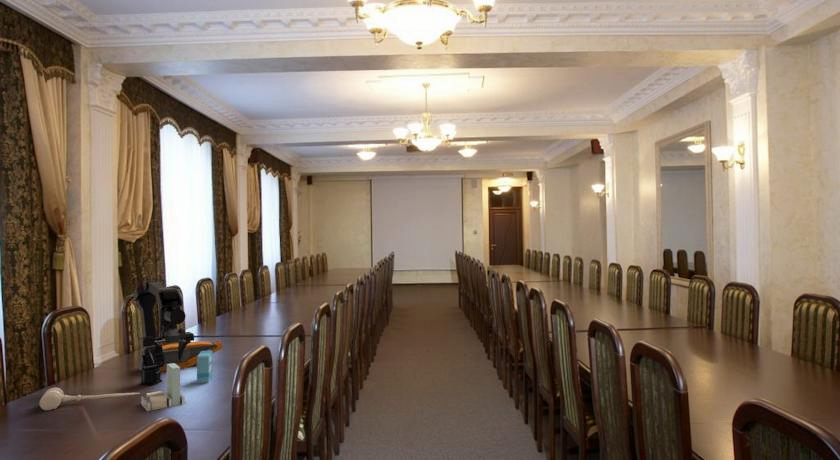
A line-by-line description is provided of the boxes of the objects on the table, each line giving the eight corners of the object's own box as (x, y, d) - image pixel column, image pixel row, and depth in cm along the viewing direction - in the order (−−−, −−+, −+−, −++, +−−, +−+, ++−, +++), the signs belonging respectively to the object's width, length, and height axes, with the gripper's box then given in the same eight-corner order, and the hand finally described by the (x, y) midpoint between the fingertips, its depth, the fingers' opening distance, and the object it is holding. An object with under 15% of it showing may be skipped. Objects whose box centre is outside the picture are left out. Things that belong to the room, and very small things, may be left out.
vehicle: (225, 363, 248) (225, 342, 248) (145, 374, 229) (145, 351, 229) (218, 357, 260) (218, 337, 260) (141, 367, 241) (141, 345, 241)
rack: (140, 406, 185) (140, 396, 185) (179, 399, 193) (179, 389, 194) (147, 413, 178) (147, 403, 178) (187, 406, 186) (187, 396, 186)
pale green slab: (166, 399, 190) (166, 364, 190) (173, 398, 191) (174, 363, 191) (172, 405, 184) (172, 368, 184) (179, 403, 185) (180, 367, 185)
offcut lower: (146, 403, 185) (146, 398, 186) (161, 400, 189) (161, 395, 189) (151, 409, 179) (151, 404, 179) (166, 406, 182) (166, 401, 182)
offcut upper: (146, 398, 186) (146, 393, 186) (161, 395, 189) (161, 390, 189) (151, 404, 179) (151, 398, 179) (166, 401, 182) (166, 396, 182)
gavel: (142, 398, 203) (43, 403, 189) (144, 383, 203) (45, 386, 189) (142, 406, 194) (37, 412, 179) (143, 390, 194) (39, 394, 180)
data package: (208, 385, 212) (208, 355, 212) (196, 386, 210) (196, 356, 211) (212, 377, 223) (212, 349, 223) (201, 378, 222) (201, 350, 222)
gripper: (147, 326, 190) (147, 369, 190) (199, 321, 203) (199, 361, 203) (139, 322, 198) (138, 363, 198) (189, 317, 211) (189, 356, 211)
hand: (167, 361), depth 202 cm, fingers open, 9 cm apart
